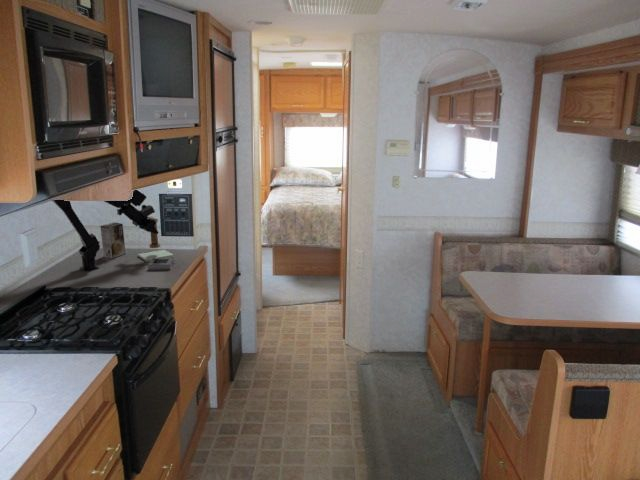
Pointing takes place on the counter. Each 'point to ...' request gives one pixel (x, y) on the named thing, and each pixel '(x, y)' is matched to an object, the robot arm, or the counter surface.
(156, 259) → the lock plate
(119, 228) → the coffee box
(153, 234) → the brown wooden column
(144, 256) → the pale green flat slab
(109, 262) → the counter surface
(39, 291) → the counter surface
